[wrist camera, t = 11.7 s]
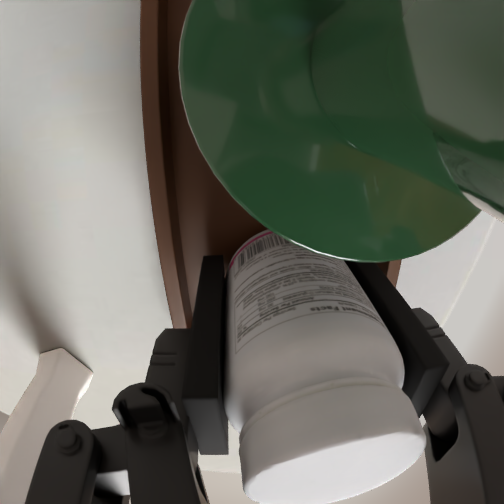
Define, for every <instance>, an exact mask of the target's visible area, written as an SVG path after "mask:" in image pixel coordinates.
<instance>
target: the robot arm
mask: <svg viewBox="0 0 504 504" xmlns="http://www.w3.org/2000/svg"><path fill="white" fill-rule="evenodd" d="M344 262H345V263H346V265H347V266H348V268H349V269H350V271H351V272H352V274H353V275H354V277H355V278H356V280H357V281H358V283H359V284H360V286H361V287H362V289H363V291H364V292H365V294H366V295H367V297H368V298H369V300H370V302H371V303H372V305H373V306H374V308H375V310H376V311H377V313H378V314H379V316H380V318H381V319H382V321H383V323H384V324H385V326H386V328H387V329H388V331H389V332H390V334H391V336H392V337H393V339H394V341H395V343H396V345H397V347H398V349H399V351H400V353H401V355H402V358H403V363H404V371H405V374H404V382H403V386H402V391H403V392H404V393H405V394H406V395H407V396H408V397H409V399H410V400H411V402H412V404H413V406H414V408H415V411H416V413H417V416H418V418H420V416H421V415H422V414H423V416H424V418H425V420H426V424H425V425H424V427H423V430H424V433H425V435H426V447H425V449H424V450H425V457H426V464H427V471H428V479H429V490H430V501H431V504H504V376H491V375H490V373H489V372H488V371H487V370H486V369H484V368H483V367H481V366H478V365H474V364H467V363H466V361H465V360H464V358H463V357H462V355H461V354H460V353H459V351H458V350H457V348H456V347H455V346H454V344H453V343H452V342H451V340H450V339H449V338H448V336H447V335H445V333H444V331H443V330H442V328H441V327H440V328H439V324H438V323H437V322H436V321H435V319H434V318H433V317H432V315H430V314H429V313H427V312H426V311H424V310H423V309H421V308H414V309H411V308H410V306H409V305H408V304H407V302H406V301H405V300H404V298H403V297H402V296H401V294H400V293H399V292H398V291H397V289H396V288H395V287H394V285H393V284H392V283H391V282H390V280H389V279H388V278H387V277H386V275H385V274H384V273H383V272H382V270H381V269H380V268H379V267H378V265H377V264H376V263H375V262H353V261H346V260H345V261H344ZM224 328H225V271H224V258H223V255H208V256H203V260H202V265H201V271H200V277H199V283H198V289H197V294H196V301H195V307H194V313H193V319H192V326H191V328H174V329H165V330H164V331H163V332H162V333H161V334H160V335H159V337H158V338H157V339H156V341H155V345H154V349H153V355H152V356H151V360H150V365H149V368H148V372H147V376H146V380H145V383H137V384H134V385H130V386H128V387H127V388H125V389H124V390H122V391H121V392H120V393H119V394H118V395H117V397H116V398H115V399H114V402H113V407H112V411H113V412H114V414H115V416H116V417H117V419H118V421H119V422H120V424H119V425H116V426H112V427H106V428H100V429H93V430H91V429H90V428H89V427H88V426H87V425H86V424H85V423H83V422H80V421H78V420H65V421H62V422H59V423H57V424H56V425H55V426H54V427H52V428H51V429H50V431H49V433H48V434H47V436H46V439H45V442H44V444H43V447H42V450H41V453H40V456H39V459H38V461H37V464H36V468H35V471H34V474H33V477H32V480H31V483H30V487H29V490H28V493H27V497H26V501H25V504H129V499H130V498H131V504H210V503H209V500H208V496H207V493H206V489H205V486H204V482H203V478H202V475H201V471H200V468H199V465H198V449H199V452H200V454H201V455H228V418H227V415H226V412H225V408H224V401H223V364H224Z"/></svg>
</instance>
